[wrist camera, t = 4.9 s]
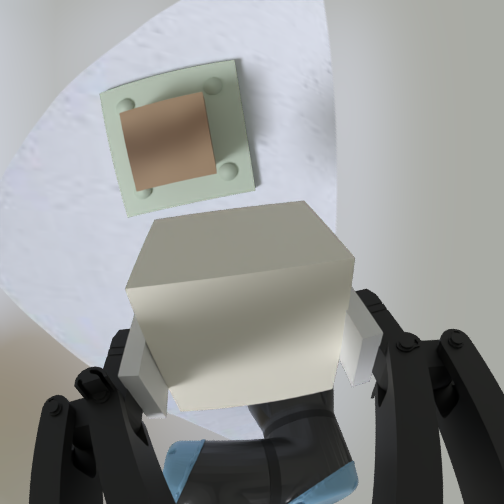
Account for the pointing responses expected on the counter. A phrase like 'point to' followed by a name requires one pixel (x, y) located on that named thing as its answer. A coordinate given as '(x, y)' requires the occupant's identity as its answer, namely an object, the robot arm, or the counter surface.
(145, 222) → the counter surface
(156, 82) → the base plate
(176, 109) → the brick
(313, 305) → the brick
